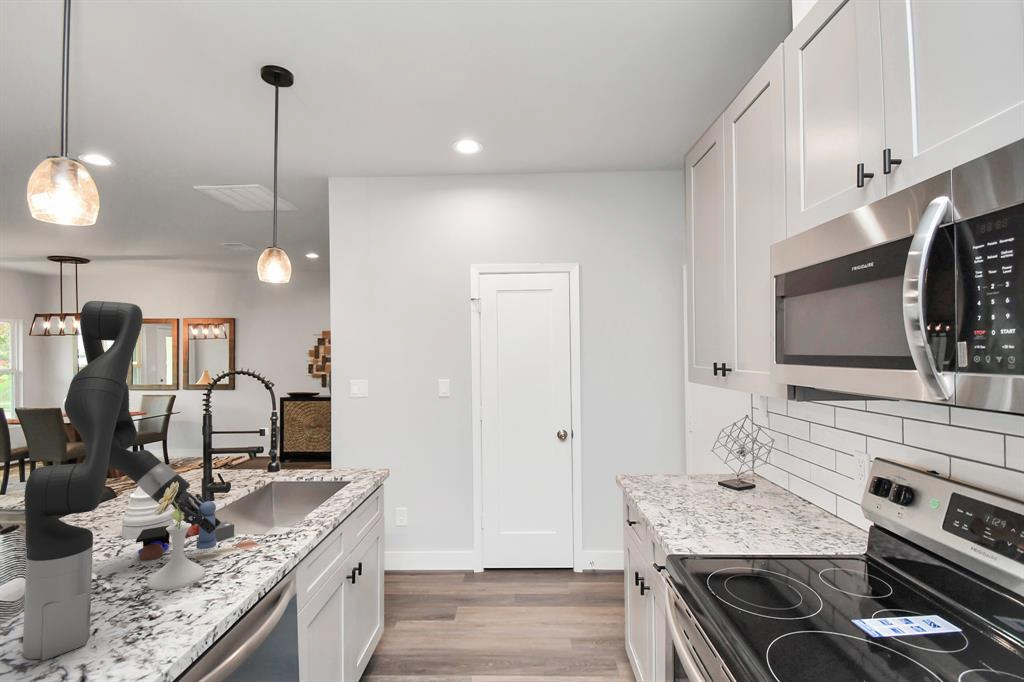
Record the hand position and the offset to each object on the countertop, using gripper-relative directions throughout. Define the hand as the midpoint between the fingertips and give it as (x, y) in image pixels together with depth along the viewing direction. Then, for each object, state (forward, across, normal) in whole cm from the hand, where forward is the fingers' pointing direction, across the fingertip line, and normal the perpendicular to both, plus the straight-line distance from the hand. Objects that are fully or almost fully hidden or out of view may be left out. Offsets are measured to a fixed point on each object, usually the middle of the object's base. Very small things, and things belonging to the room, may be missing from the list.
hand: (215, 528), depth 130 cm
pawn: (+2, 0, +4) cm, 5 cm away
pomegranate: (-2, +22, +14) cm, 27 cm away
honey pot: (-13, +33, +25) cm, 43 cm away
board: (+8, +4, +5) cm, 10 cm away
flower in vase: (+3, -13, +10) cm, 17 cm away
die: (+4, +16, +8) cm, 18 cm away
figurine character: (-6, +10, +19) cm, 22 cm away
